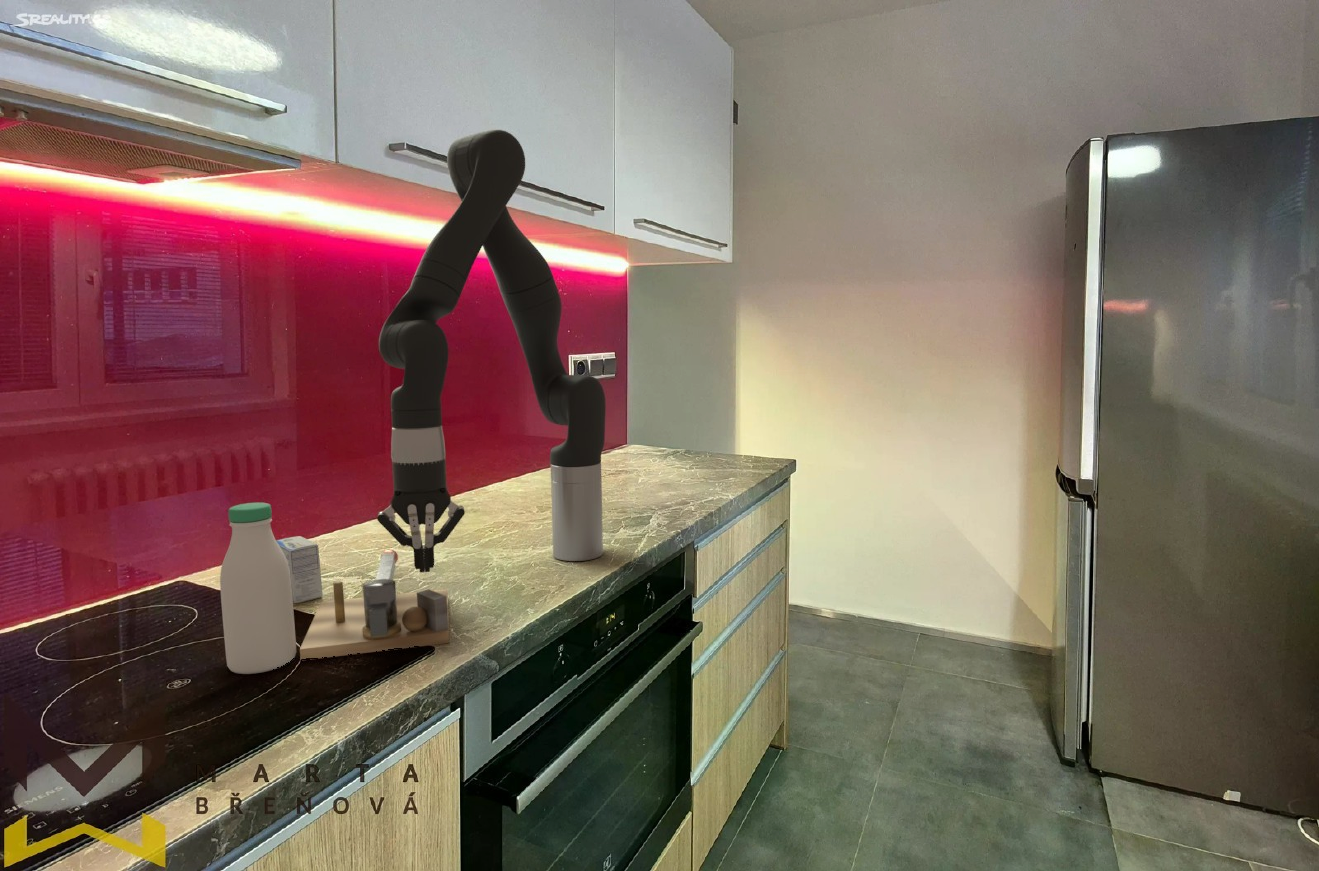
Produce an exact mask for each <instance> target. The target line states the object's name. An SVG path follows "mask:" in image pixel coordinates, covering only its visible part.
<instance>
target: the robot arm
mask: <svg viewBox="0 0 1319 871" xmlns="http://www.w3.org/2000/svg"><path fill="white" fill-rule="evenodd" d="M525 156H526V155H525V152H524V149H523V147H522V145H521V143H520V141H519V140H518V138H516V137H515V136H514V134H512V133H511V132H508V131H506V130H503V129H488V130H485V131H481V132H477V133H473V134H468V135H466V136H463V137H460V138H457V139H456V140H454V141H453V142H452V143H451V144H450V146H449V148H448V150H447V157H446V162H447V164H446V165H447V171H448V174H449V178H450V180H451V182H452V183H451V184H453V187H454V190H455V191H456V193H457V196H458V197H459V199H460V201H461V202H460V203H459V205H458V207H457V208H456V209H455V211H454V212H453V213H452V215H451V216H450V218H449V219H448V220H447V222H445V224H444V225H443V226H442V227H441V228H440V229H439V231H438V232H437V234H435V236H434V237H433V238H432V240H431V241H430V242H429V244H428V246H427V248H426V249H425V250H424V251H425V252H424V253H423V255H422V257H421V259H420V262H419V264H418V266H417V268H416V271H415V273H414V276H413V278H412V280H411V283H410V285H409V288H408V290H406V293H405V294H403V296H402V297H401V299H399V301H398V303H397V304H396V305H395V307H393V308H394V309H393V310H392V311H391V312H390V314H389V316H388V317H387V318H386V320H385V322H384V324H383V326H382V328H381V331H380V334H379V338H378V350H379V354H380V356H381V358H382V359H383V361H384V362H385V363H386V364H388V365H389V366H390V367H393V368H395V369H402V370H404V372H403V373H404V374H403V380H402V384H401V386H398V387H396V388H395V389H393V391H392V393H391V395H390V409H391V410H390V411H391V412H390V414H391V417H390V418H391V439H390V447H391V448H390V450H391V451H390V458H391V463H392V464H391V465H392V466H391V467H392V468H391V469H392V484H393V485H392V486H393V496H392V498H391V500H390V505H389V506H388V507H386V508H385V509H384V510H381V511H379V512H378V514H377V518H376V519H377V522H379V524H380V525H381V526H382V527H383V528H384V529H385V530H386V531H387V532H388V533H389V534H390V535H391V536H392V537H393V538H394V539H395V540H396V541H397V542H398V543H399V544H400V545H401V546H402V547H405V546H407V547H411V548H412V550H413V562H414V565H413V566H414V568H415V569H416V570H419V573H430V571H431V569H432V568H434V566H435V551H434V549H435V546H436V545H439V544H440V543H444V542H445V541H446V540H447V539H448V537H449V536H450V535H451V533H452V532H453V530H454V529H455V528H456V526H457V525H458V524H459V523H460V521H461V519H462V518H463V517H464V515H465V514H466V513H465V512H466V511H465V507H464V506H463V505H461V504H459V505H458V504H457V503H455V502H453V501H452V500H451V494H450V493H449V492H448V488H447V487H448V486H447V485H448V484H447V464H446V463H447V462H446V453H447V452H446V445H445V442H446V441H445V435H444V430H443V417H442V400H441V398H442V397H441V396H442V393H443V389H444V384H445V381H446V380H445V379H446V374H447V369H448V365H449V364H448V363H449V356H450V355H449V353H450V352H449V344H448V340H447V337H446V334H445V332H444V330H443V329H442V328H441V326H439V324H437V322H438V321H439V320H440V319H442V318H443V317H446V316H448V315H450V314H451V313H452V312H453V311H454V310H455V308H456V307H457V305H458V302H459V300H460V297H461V294H462V293H463V290H464V287H465V285H466V283H467V281H468V278H469V276H470V273H471V270H472V268H473V266H474V264H475V262H476V259H477V257H478V255H479V253H480V251H481V250H482V248H483V250H484V253H485V255H486V257H487V260H488V262H489V266H490V268H491V270H492V272H493V276H494V278H495V281H496V283H497V286H498V290H499V292H500V295H501V298H502V300H503V304H504V305H505V308H506V310H507V312H508V314H509V317H510V319H511V322H512V324H513V327H514V329H515V332H516V334H517V338H518V341H519V343H520V346H521V349H522V353H523V355H524V357H525V360H526V364H527V368H528V371H529V375H530V378H531V382H532V385H533V388H534V392H535V396H536V400H537V403H538V406H539V408H540V411H541V413H542V415H543V417H544V418H545V419H546V420H547V421H548V422H550V423H552V424H555V425H557V426H558V425H559V426H566V427H567V432H566V433H567V434H566V439H565V441H564V442H562V443H561V444H558V445H556V446H554V447H552V448H551V449H550V454H549V460H550V461H549V463H550V485H551V486H550V487H551V488H550V489H551V492H550V493H551V495H550V496H551V520H552V521H551V525H552V527H551V528H552V530H551V531H552V556H553V557H554V558H555V559H557V560H561V561H568V562H584V561H590V560H593V559H597V558H599V557H602V556H603V555H604V554H603V553H604V543H603V542H604V539H603V538H604V536H603V535H604V534H603V533H604V532H603V530H604V529H603V492H602V491H603V486H602V484H603V483H602V482H603V481H602V453H603V450H604V446H605V440H606V439H605V437H606V436H605V435H606V412H607V411H606V410H607V409H606V406H607V405H606V395H605V391H604V388H603V385H602V383H601V382H600V381H599V379H598V378H596V377H594V376H592V375H586V374H584V375H583V374H581V375H580V374H577V375H576V374H568V372H567V370H566V368H565V367H564V364H563V361H562V358H561V356H560V352H559V348H558V347H559V346H558V337H559V336H558V335H559V329H560V323H561V318H562V311H563V310H562V309H563V308H562V307H563V306H562V300H561V295H560V292H559V290H558V286H557V284H556V281H555V278H554V276H553V271H552V269H551V267H550V266H549V264H548V262H547V260H546V259H545V257H544V256H543V254H542V253H541V252H540V251H539V250H538V249H537V247H536V246H535V245H534V244H533V243H532V242H531V241H530V240H529V238H528V237H527V236H526V235H525V234H524V232H523V231H521V229H520V228H519V227H518V225H517V224H516V223H515V222H514V220H513V217H512V216H511V214H510V212H509V210H508V207H507V205H508V203H509V201H510V200H511V199H512V197H513V196H514V194H515V192H516V191H517V190H518V188H519V186H520V184H521V182H522V180H523V178H524V175H525V172H526V157H525ZM447 509H448V511H447V517H448V518H447V520H446V521H445V522H444V524H443V525H442V526H441V528H440V529H439V531H438V532H436V533H435V534H434V532H435V528H434V526H435V523H437V522H438V521H439V520H440V519H441V518H442V516H443V515H444V513H445V512H446V510H447ZM395 513H396V514H397V515H398V516H399V518H400V519H401V520H402V521H403V522H404V523H405V524H406V525H408V526H409V527H410V528H409V529H410V535H409V534H408V533H407V532H406V531H404V529H403V528H402V527H401V526H400V525H399V524H398V523H397V522H396V515H395ZM421 525H424V526H425V527H424V528H425V529H424V544H423V540H422V533H421Z"/></svg>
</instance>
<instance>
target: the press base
mask: <svg viewBox="0 0 1319 871" xmlns="http://www.w3.org/2000/svg"><path fill="white" fill-rule="evenodd" d="M332 586H333V589H332V590H333V600H324V601H321V602H320V603H319V606H318V608H317V610H316V612H315V614H314V617H313V618H312V621H311V622H310V623H311V624H310V625H309V628H308V630H307V631H306V634H305V636H304V638H303V641H302V643H301V646H300V648H299V657H300V660H301V659H306V658H318V659H324V657H327V658H334V657H333V656H335V657H342V656H343V657H344V656H349V655H350V654H352V655H358V654H357V653H360V654H367V653H374V652H375V653H376V651H377V652H383V651H382V650H385V651H389V650H388V649H394V648H402V649H409V647H410V648H415V647H414V646H419V647H427V646H434V645H435V646H436V645H443V644H448V643H450V623H449V622H450V620H449V597H448V594H449V593H448V592H449V591H448V588H446V589H436V590H435V589H434V590H431V589H426V590H421V591H414V592H413V591H412V592H404V593H396V604H397V621H398V622H397V623H396V624H395V625H393V626H391V627H389V629H388V634H387V635H383V636H374V637H371V635H370V629H369V628H367V627H366V626H365V612H364V596H363V597H353V598H344V594H345V593H344V582H343V581H339V580H338V581H334V582H333V583H332ZM394 650H395V649H394ZM348 654H349V655H348ZM350 656H351V655H350ZM322 657H323V658H322Z"/></svg>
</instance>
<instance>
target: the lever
mask: <svg viewBox="0 0 1319 871" xmlns="http://www.w3.org/2000/svg"><path fill="white" fill-rule="evenodd" d="M398 560H399V554H398V553H397V551H396V550H394V549H386V550H384V551H382V553H381V555H380V561H379V564H378V568H377V572H376V577H375V579H374V580H369V581H367V582H365V583H363V585H362V593H363V597H364V612H365V626H366V627H367V628H369V629H370V635H371V637H374V636H383V635H387V634H388V629H389V627H391V626H393V625H395V624H396V623H397V622H398V621H397V604H396V594H397V590H396V589H397V588H396V581H395V580H394V577H395V576H394V575H395V570H396V565H397V562H398Z"/></svg>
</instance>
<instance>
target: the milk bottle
mask: <svg viewBox="0 0 1319 871" xmlns="http://www.w3.org/2000/svg"><path fill="white" fill-rule="evenodd" d="M272 513H273V512H272V505H271V504H270V503H268V502H267V503H266V502H247V503H240V504H236V505H234V506H231V507H229V509H228V520H229V524H228V525H229V526H230V527H231V531H232V532H231V538H230V542H229V546H228V549H227V550H226V554H225V556H224V559H222V560H223V561H222V564H221V569H220V574H219V575H220V577H219V581H220V582H219V585H220V586H219V587H220V601H221V602H220V603H221V612H222V613H221V614H222V626H223V628H222V629H223V637H224V650H225V659H226V665H227V666H226V667H228V669H229V671H230V672H233V673H235V674H239V675H240V674H242V675H251V674H259V673H260V674H261V673H265V672H270V671H273V669H274V670H276V669H278V668H277V667H279V668H281V666H282V667H283V665H284V666H286V665H287V664H286V663H288V662H289V663H291V662H292V661H293V660H294V659H295V657H296V654H297V641H296V629H295V628H296V627H295V615H294V614H295V613H294V602H293V600H292V588H291V579H290V571H289V566H288V562H287V559H286V557H285V555H284V553H283V551H282V549H281V548H280V546H279V545H278V543H277V539H276V537H275V536H274V533H273V531H272V525H271V522H272V521H273V519H272V515H273V514H272ZM293 658H294V659H293ZM292 659H293V660H292ZM291 660H292V661H291ZM290 661H291V662H290ZM289 663H288V664H289ZM285 664H286V665H285Z"/></svg>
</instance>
